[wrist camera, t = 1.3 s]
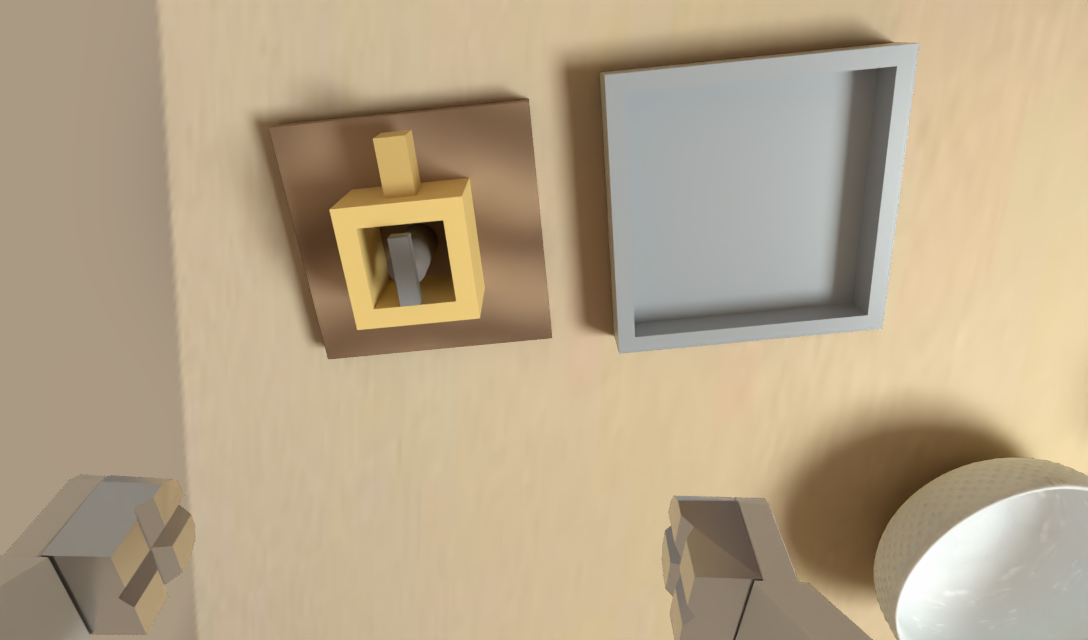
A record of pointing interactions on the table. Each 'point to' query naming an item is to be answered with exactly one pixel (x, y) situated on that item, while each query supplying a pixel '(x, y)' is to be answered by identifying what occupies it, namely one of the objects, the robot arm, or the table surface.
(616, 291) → the tray
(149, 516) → the robot arm
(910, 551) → the cereal bowl
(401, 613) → the table surface
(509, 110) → the board with post
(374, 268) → the collar
